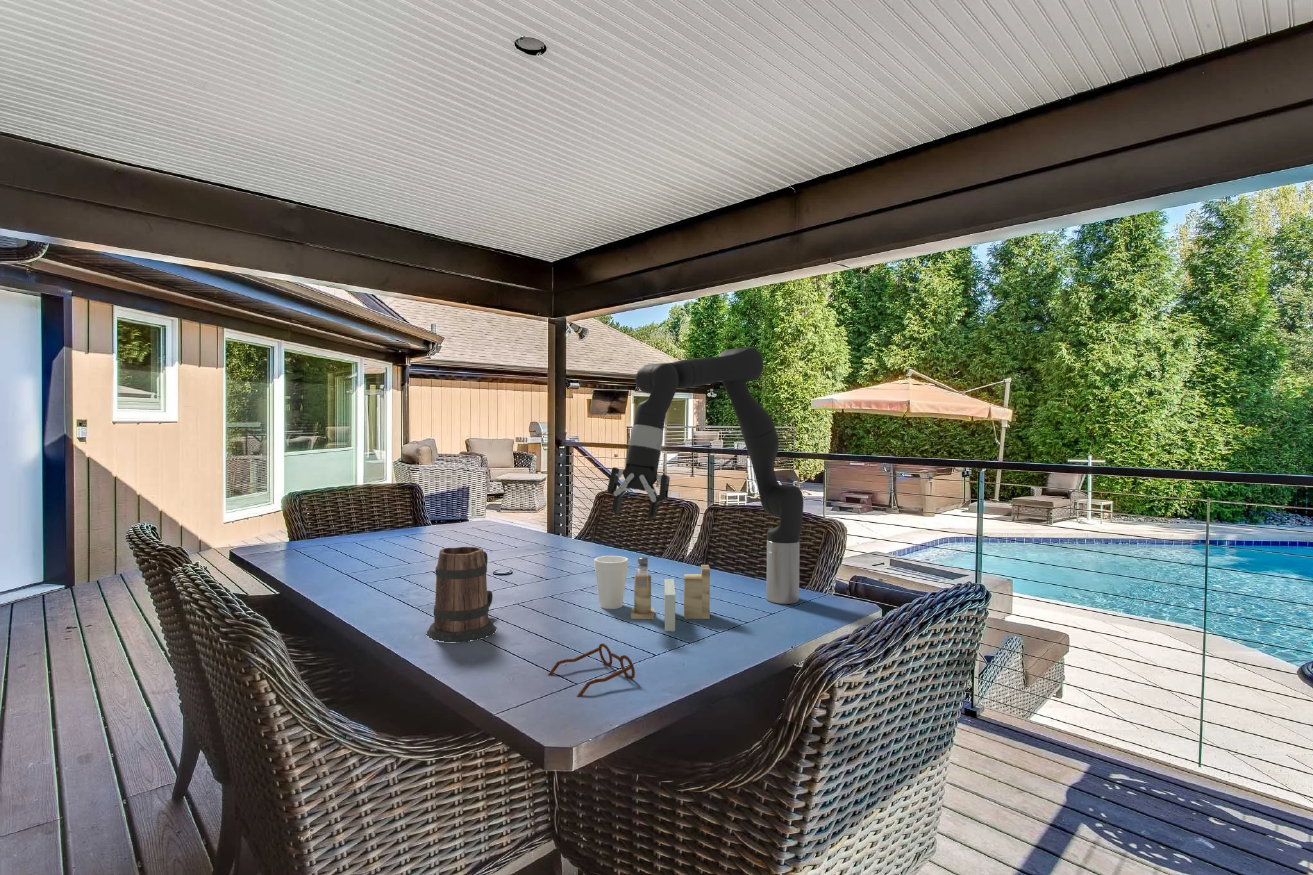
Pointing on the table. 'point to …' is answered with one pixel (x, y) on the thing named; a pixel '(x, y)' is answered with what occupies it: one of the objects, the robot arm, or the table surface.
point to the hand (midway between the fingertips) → (633, 515)
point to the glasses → (604, 663)
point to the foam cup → (611, 580)
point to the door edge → (669, 604)
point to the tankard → (461, 596)
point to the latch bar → (642, 573)
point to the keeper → (697, 594)
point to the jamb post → (642, 602)
